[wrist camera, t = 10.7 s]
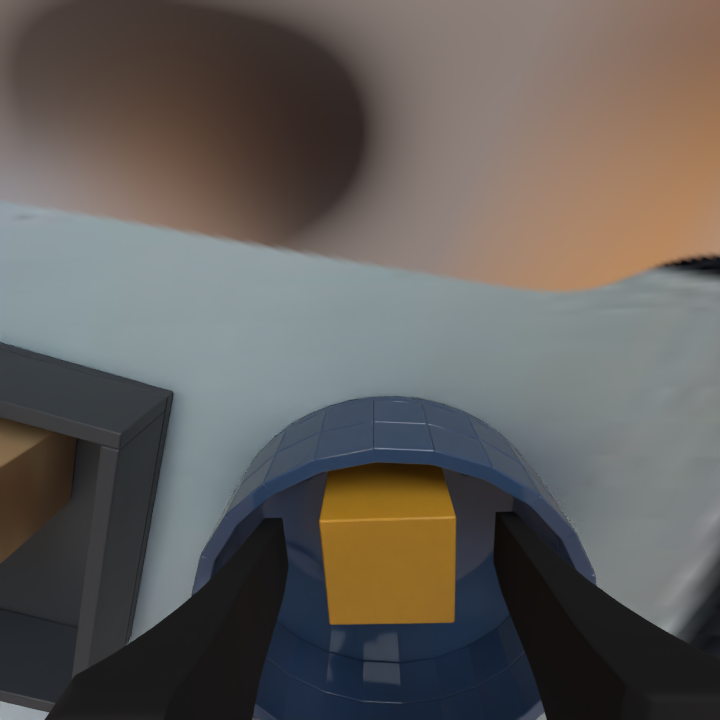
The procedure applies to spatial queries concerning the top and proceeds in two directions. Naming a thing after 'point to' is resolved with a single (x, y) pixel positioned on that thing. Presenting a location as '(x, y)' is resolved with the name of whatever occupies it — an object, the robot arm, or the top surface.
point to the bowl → (393, 641)
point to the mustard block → (388, 545)
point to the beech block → (31, 480)
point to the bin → (78, 523)
